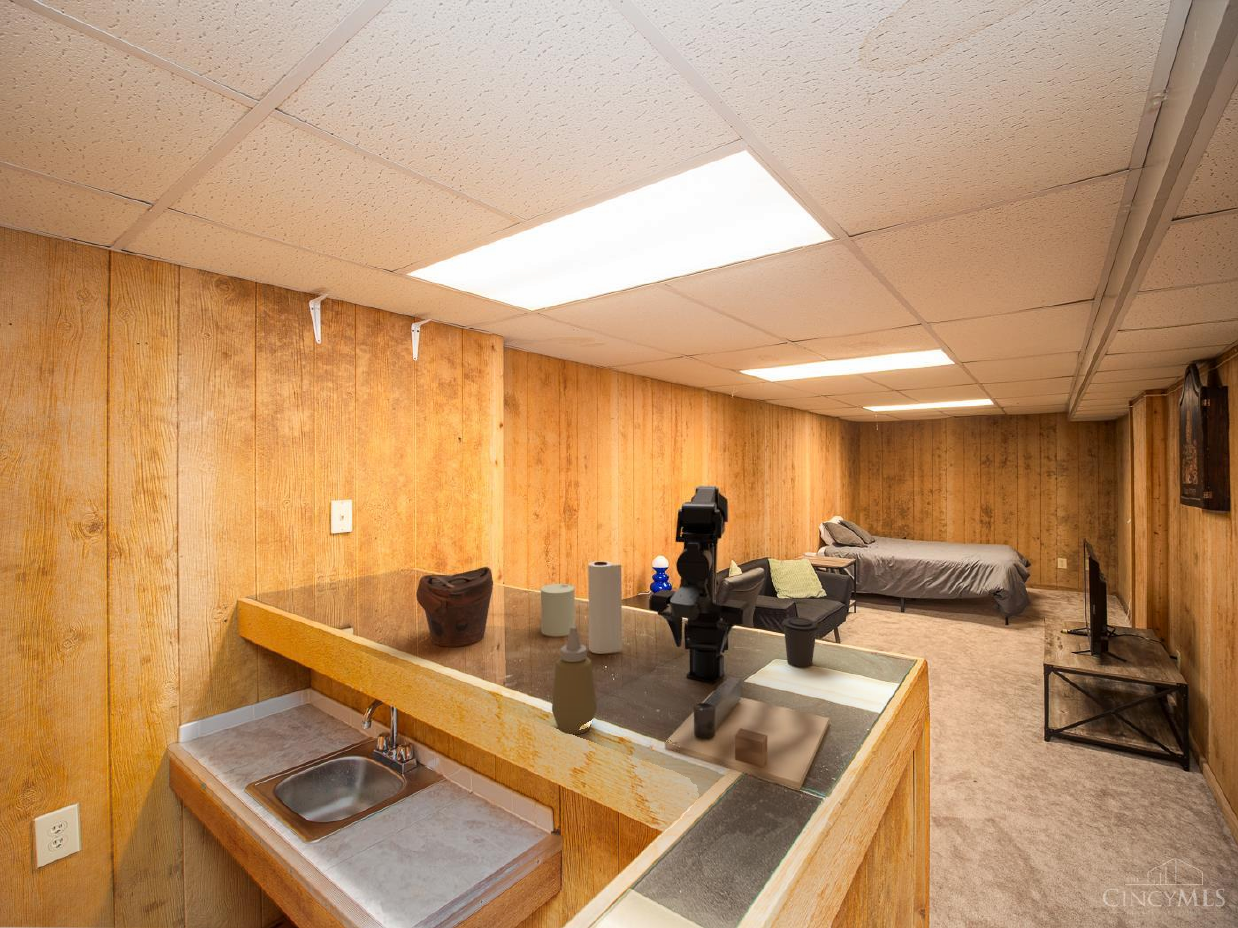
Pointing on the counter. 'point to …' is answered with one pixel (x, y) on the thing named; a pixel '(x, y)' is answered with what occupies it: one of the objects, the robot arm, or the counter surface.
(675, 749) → the tan flat square sheet
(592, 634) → the paper towel roll
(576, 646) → the squeeze bottle
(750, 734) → the block
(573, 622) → the can
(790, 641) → the coffee cup
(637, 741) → the counter surface
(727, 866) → the counter surface
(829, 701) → the counter surface
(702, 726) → the swing bar
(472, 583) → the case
